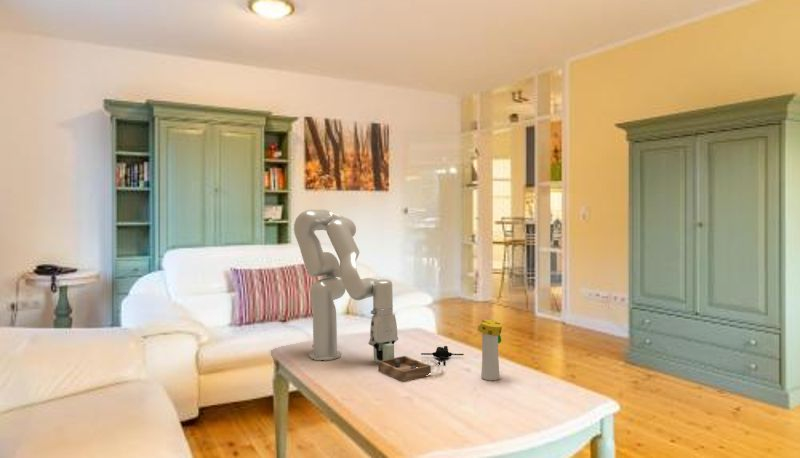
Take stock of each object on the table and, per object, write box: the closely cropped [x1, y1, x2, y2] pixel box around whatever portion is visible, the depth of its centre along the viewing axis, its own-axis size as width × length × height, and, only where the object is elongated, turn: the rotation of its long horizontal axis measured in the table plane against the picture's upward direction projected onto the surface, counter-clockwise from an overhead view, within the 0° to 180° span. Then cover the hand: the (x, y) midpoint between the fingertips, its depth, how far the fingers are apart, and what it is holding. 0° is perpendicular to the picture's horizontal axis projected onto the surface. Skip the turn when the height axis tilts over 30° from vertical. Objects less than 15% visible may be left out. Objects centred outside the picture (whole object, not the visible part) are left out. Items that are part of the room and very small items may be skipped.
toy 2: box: [477, 318, 503, 381], centre depth 182 cm, size 8×9×20 cm
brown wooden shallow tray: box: [377, 355, 432, 383], centre depth 189 cm, size 16×12×4 cm
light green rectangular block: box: [373, 341, 395, 363], centre depth 202 cm, size 10×3×8 cm, turn 35°
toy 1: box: [420, 345, 465, 367], centre depth 205 cm, size 17×5×15 cm
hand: (383, 358), depth 202 cm, fingers closed on light green rectangular block, 3 cm apart
